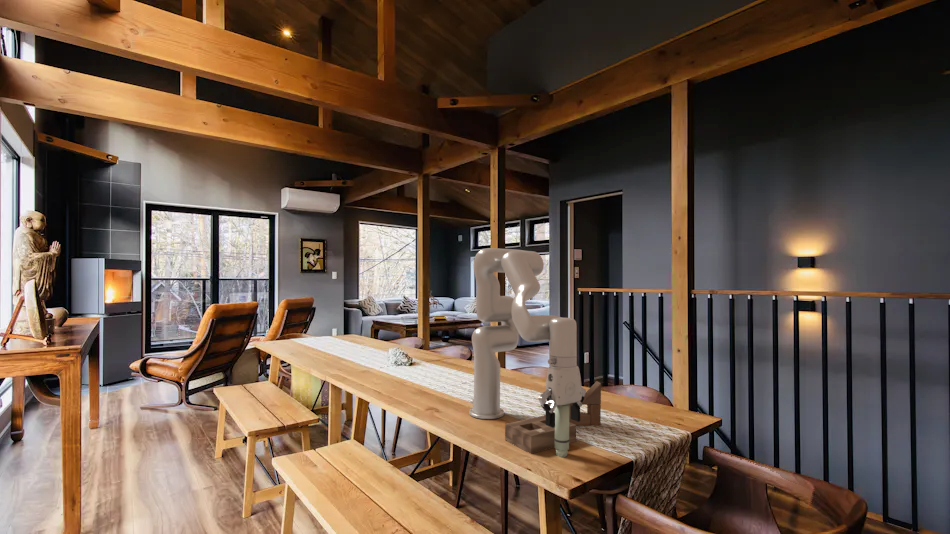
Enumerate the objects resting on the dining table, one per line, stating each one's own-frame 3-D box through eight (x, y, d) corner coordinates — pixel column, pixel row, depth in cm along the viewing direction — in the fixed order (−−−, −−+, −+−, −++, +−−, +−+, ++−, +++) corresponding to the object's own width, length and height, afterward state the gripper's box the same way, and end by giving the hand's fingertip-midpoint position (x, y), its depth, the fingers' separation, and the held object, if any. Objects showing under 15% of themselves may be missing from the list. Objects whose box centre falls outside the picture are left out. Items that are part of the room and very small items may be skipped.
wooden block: (600, 425, 151) (601, 372, 152) (570, 426, 150) (570, 372, 150) (596, 422, 155) (597, 369, 155) (566, 423, 154) (567, 370, 154)
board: (505, 440, 136) (505, 423, 137) (548, 429, 146) (549, 414, 147) (530, 453, 126) (531, 435, 127) (576, 441, 136) (576, 424, 137)
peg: (551, 453, 127) (551, 403, 127) (561, 450, 129) (562, 401, 129) (561, 458, 123) (562, 407, 124) (572, 455, 126) (572, 405, 126)
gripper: (549, 367, 119) (549, 432, 118) (594, 361, 128) (594, 421, 128) (530, 362, 125) (530, 424, 124) (574, 357, 134) (575, 415, 134)
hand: (563, 423), depth 126 cm, fingers open, 9 cm apart
